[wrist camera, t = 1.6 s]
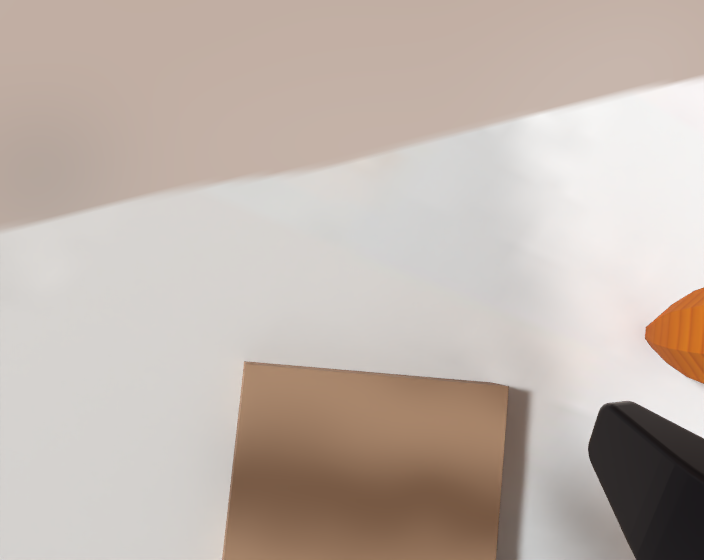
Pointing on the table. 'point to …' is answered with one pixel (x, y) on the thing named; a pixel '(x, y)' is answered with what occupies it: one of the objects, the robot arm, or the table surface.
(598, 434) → the robot arm
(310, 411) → the walnut block
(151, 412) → the table surface
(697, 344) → the carrot
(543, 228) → the table surface
